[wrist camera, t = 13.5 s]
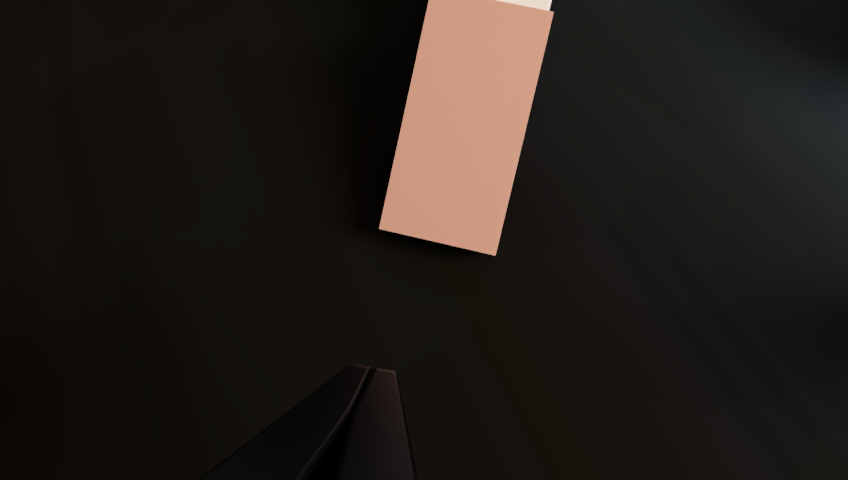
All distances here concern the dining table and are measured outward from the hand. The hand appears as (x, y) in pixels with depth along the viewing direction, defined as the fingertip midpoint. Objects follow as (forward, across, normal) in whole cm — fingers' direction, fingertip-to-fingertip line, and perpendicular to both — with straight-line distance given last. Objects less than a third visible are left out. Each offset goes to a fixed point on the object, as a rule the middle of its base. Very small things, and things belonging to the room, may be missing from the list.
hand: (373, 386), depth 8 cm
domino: (+12, 0, +2) cm, 12 cm away
